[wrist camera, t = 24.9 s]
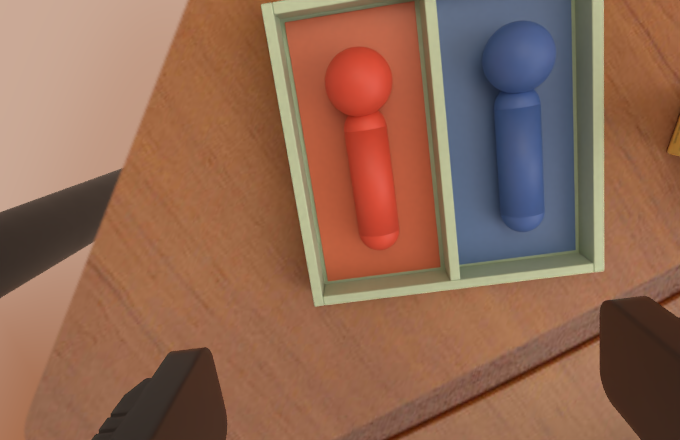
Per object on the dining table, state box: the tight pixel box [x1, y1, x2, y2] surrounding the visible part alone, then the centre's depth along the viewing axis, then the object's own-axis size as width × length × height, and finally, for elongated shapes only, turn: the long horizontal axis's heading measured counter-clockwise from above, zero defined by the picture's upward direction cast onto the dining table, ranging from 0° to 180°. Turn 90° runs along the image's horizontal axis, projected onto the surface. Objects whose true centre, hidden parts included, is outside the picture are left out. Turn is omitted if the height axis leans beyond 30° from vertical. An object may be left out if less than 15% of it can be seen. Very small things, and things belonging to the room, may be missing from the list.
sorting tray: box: [261, 0, 604, 307], centre depth 27 cm, size 17×17×2 cm
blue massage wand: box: [482, 20, 556, 232], centre depth 26 cm, size 12×4×4 cm, turn 9°
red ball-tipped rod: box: [325, 46, 399, 250], centre depth 27 cm, size 12×4×4 cm, turn 9°
